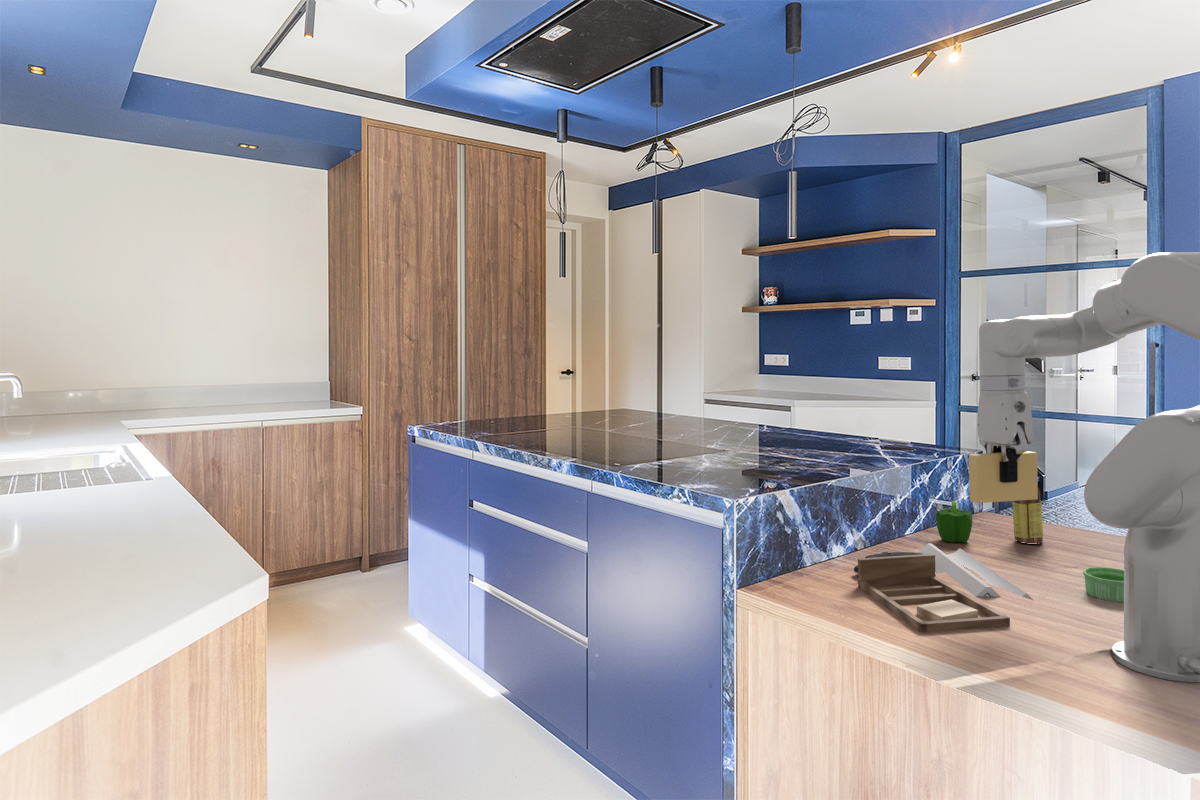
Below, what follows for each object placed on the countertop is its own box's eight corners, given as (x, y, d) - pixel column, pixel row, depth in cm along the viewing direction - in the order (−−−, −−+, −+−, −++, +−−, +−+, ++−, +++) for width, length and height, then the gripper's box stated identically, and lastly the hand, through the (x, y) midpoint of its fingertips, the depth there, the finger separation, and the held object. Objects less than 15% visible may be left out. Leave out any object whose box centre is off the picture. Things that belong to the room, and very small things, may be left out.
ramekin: (1099, 603, 129) (1099, 581, 129) (1073, 587, 138) (1073, 566, 138) (1151, 604, 128) (1151, 581, 127) (1121, 588, 137) (1121, 566, 136)
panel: (1037, 499, 129) (1037, 452, 129) (977, 503, 128) (976, 456, 128) (1028, 496, 132) (1028, 451, 131) (969, 500, 131) (968, 454, 130)
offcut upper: (978, 618, 121) (977, 610, 121) (942, 625, 119) (941, 617, 119) (951, 607, 127) (951, 599, 127) (916, 614, 125) (916, 605, 125)
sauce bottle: (1042, 540, 171) (1042, 462, 170) (1043, 546, 166) (1043, 466, 165) (1012, 537, 175) (1011, 461, 173) (1012, 544, 169) (1011, 465, 168)
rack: (1009, 631, 118) (1009, 592, 117) (921, 638, 117) (920, 598, 116) (932, 586, 142) (931, 553, 141) (858, 591, 141) (857, 558, 140)
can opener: (872, 584, 145) (871, 558, 145) (850, 575, 152) (849, 550, 151) (937, 573, 151) (937, 548, 150) (913, 564, 157) (913, 541, 157)
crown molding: (1032, 605, 131) (1032, 587, 131) (967, 605, 132) (967, 587, 132) (965, 557, 162) (964, 542, 162) (912, 558, 163) (912, 543, 163)
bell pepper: (966, 547, 168) (965, 507, 168) (931, 541, 174) (931, 503, 174) (978, 540, 174) (977, 501, 173) (944, 535, 180) (943, 498, 179)
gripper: (1051, 385, 121) (1052, 487, 122) (993, 382, 137) (994, 472, 138) (1011, 387, 121) (1013, 489, 122) (958, 384, 137) (959, 474, 138)
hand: (1003, 479), depth 130 cm, fingers closed on panel, 2 cm apart
